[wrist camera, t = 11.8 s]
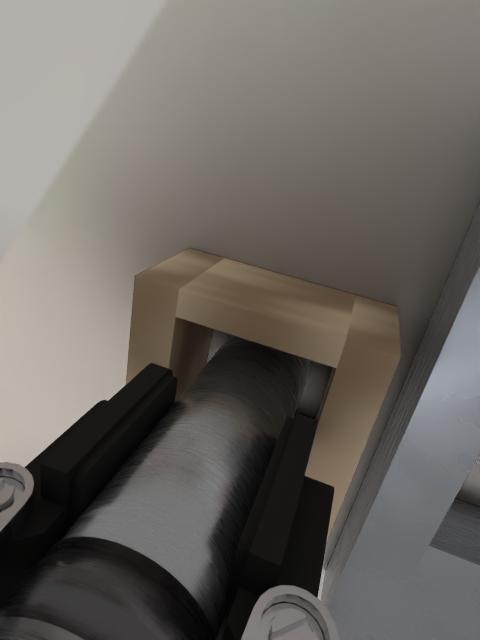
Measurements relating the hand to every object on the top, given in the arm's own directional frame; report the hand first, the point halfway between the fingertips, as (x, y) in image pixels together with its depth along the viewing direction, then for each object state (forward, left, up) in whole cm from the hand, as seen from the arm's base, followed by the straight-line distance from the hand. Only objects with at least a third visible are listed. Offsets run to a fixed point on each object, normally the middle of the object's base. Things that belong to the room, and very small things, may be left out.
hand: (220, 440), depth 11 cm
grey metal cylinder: (0, 0, -4) cm, 4 cm away
